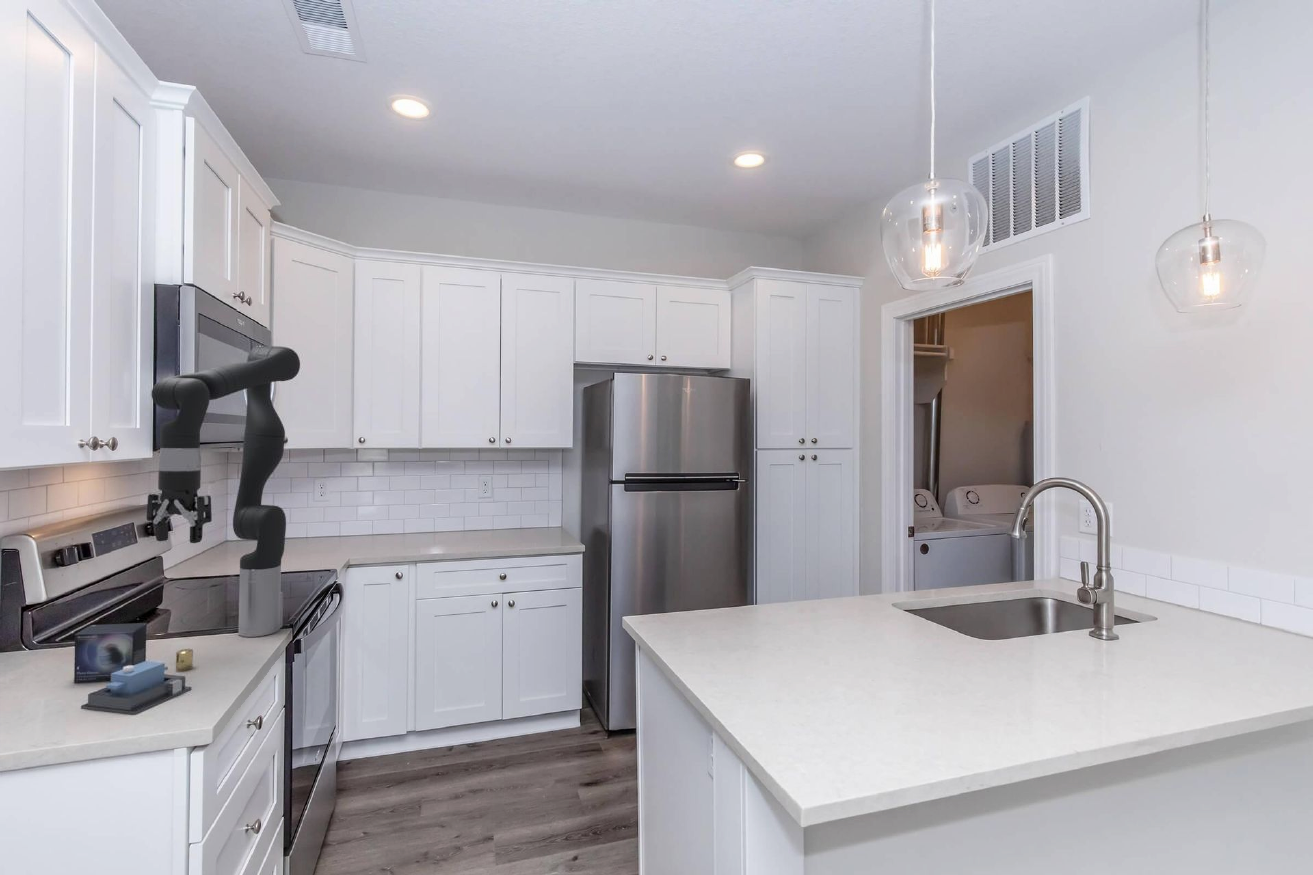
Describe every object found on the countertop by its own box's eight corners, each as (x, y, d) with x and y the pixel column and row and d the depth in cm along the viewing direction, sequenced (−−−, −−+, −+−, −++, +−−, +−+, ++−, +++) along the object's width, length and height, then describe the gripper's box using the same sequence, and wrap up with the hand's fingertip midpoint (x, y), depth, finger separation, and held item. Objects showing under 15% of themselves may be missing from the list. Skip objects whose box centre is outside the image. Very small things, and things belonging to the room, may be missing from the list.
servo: (153, 684, 132) (153, 653, 132) (171, 686, 132) (172, 655, 132) (101, 705, 122) (101, 671, 122) (121, 708, 121) (121, 673, 121)
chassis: (141, 684, 134) (141, 671, 134) (191, 689, 132) (191, 676, 132) (80, 708, 122) (81, 694, 122) (134, 714, 120) (135, 700, 120)
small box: (71, 684, 133) (72, 633, 133) (89, 672, 139) (90, 624, 139) (131, 680, 136) (132, 630, 136) (147, 669, 142) (148, 621, 142)
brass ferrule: (184, 666, 144) (184, 648, 144) (196, 667, 144) (196, 649, 144) (172, 670, 141) (172, 652, 141) (183, 672, 141) (184, 653, 141)
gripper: (222, 468, 145) (220, 540, 145) (167, 466, 147) (166, 537, 148) (192, 470, 138) (191, 546, 138) (136, 468, 140) (134, 542, 140)
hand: (178, 541), depth 143 cm, fingers open, 8 cm apart
